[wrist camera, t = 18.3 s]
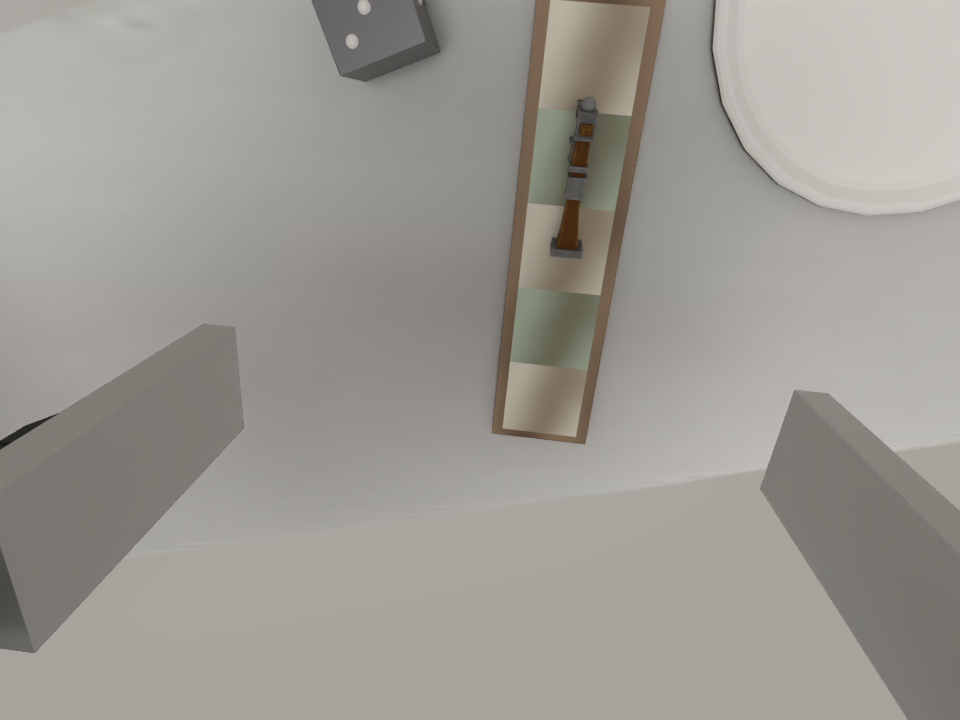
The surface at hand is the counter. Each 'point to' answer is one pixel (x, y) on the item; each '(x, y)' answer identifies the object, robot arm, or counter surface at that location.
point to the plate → (846, 97)
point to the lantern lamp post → (576, 181)
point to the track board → (540, 205)
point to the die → (376, 35)
